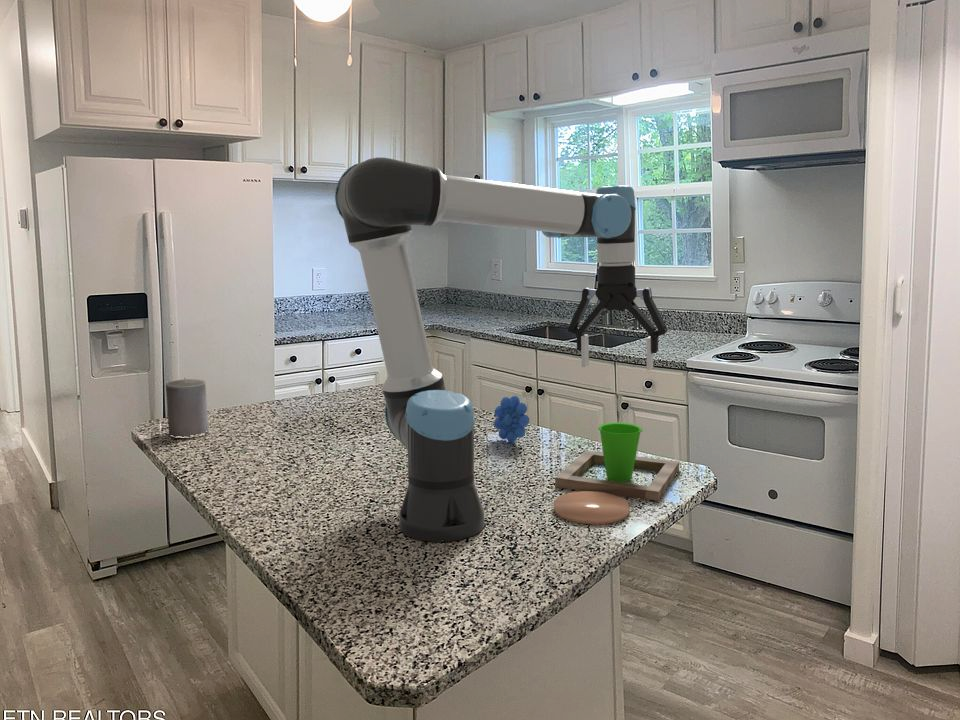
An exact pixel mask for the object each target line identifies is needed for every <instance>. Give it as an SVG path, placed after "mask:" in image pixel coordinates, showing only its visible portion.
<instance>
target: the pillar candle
mask: <svg viewBox="0 0 960 720" xmlns="http://www.w3.org/2000/svg"><path fill="white" fill-rule="evenodd" d="M165 391H166V392H165V393H166V395H165V396H166V405H167V406H166V407H167V424H168V435H169V434H170V435H173V436H190V435H196V434H201V433H204V432H206V431H208V432H209V418H208V416H209V415H208V404H207V403H208V402H207V401H208V400H207V387H206V380H202V379H191V378H190V379H186V377H184V379H177V380H172V381H168V382H167V383H166V384H165Z"/></svg>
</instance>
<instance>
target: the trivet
mask: <svg viewBox="0 0 960 720" xmlns="http://www.w3.org/2000/svg"><path fill="white" fill-rule="evenodd" d="M553 512H554V513H555V514H556V516H558V517H559V518H561V519H564V520H566V521H569V522H573V523H577V524H582V525H607V524H614V523H618V522H620V521H623V520H625V519H626V518H627V517H628V516H629V515H630V503H629V502H628V501H627V500H626V499H625V498H624V497H622V496H616V495H612V494H608V493H603V492H594V491H580V490H579V491H573V492H568V493H564V494H561V495H559V496H557V497H556V498H555V499H554V500H553Z"/></svg>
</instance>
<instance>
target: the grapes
mask: <svg viewBox="0 0 960 720" xmlns="http://www.w3.org/2000/svg"><path fill="white" fill-rule="evenodd" d="M494 409H495V410H494V415H495V417H496V419H495V420H494V422H493V426H494V428H495V429H496V430H499V431H498V437H499V438H500V439H501V440H507V442H509V443H512V444H513V443H516V441H517V440H518V439H522V438H524V436H525V435H526V431H527V430H526V428H527V426H529V424H530V417H529V416H528V415H527V414H526V413H527V411H528V406H527V404H526V403H525V402H521V399H520V397H518V396H517V395H512V396H511V397H510V398H509V397H508V396H505V397H503V398H501V400H500V403H499V405H497V406H496V407H495V408H494ZM525 427H526V428H525Z"/></svg>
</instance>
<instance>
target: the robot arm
mask: <svg viewBox="0 0 960 720" xmlns="http://www.w3.org/2000/svg"><path fill="white" fill-rule="evenodd" d="M595 191H596V192H595V193H590V192H581V191H574V190H568V189H567V190H566V189H559V188H551V187H544V186H543V187H542V186H535V185H527V184H521V183H520V184H519V183H513V182H504V181H503V182H502V181H494V180H486V179H479V178H470V177H465V176H464V177H463V176H456V175H447V174H444V173H443V172H442V171H441V169H440V168H439V167H435V166H427V165H421V164H416V163H411V162H406V161H403V160H398V159H395V158H389V157H373V158H369V159H366V160H364V161H361V162H359V163H355V164H353V165H352V166H350V167H348V168H347V169H346V170H345V171H344V172H343V174H341V176H340V178H339V179H338V182H337V184H336V187H335V194H334V202H335V207H336V210H337V211H338V214H339V215H340V217H341V218H342V219H343V224H344V228H345V232H346V237H347V240H348V243H349V245H350V247H352V248H354V249H355V250H357V251H358V252H359V255H360V259H361V262H362V263H361V264H362V268H363V272H364V276H365V277H364V278H365V282H366V286H367V289H368V294H369V295H368V296H369V299H370V303H371V304H370V305H371V307H372V308H371V309H372V311H373V315H374V316H373V317H374V320H375V321H374V322H375V325H376V329H377V334H378V338H379V342H380V347H381V351H382V355H383V360H384V365H385V369H386V374H387V378H386V379H385V381H384V382H383V384H382V387H381V389H382V392H383V396H384V401H385V406H384V418H385V423H386V426H387V428H388V430H389V432H390V434H392V435H393V437H394V438H395V439H396V440H398V442H400V444H402V446H404V448H405V449H406V450H407V473H408V474H407V476H408V477H407V478H408V479H407V480H408V483H407V488H406V491H405V494H404V499H403V502H402V505H401V509H400V511H399V514H398V515H399V517H398V518H399V523H398V525H399V530H400V532H402V533H403V534H404V535H405V536H407V537H409V538H411V539H414V540H420V541H424V542H432V543H433V542H435V543H436V542H437V543H438V542H439V543H440V542H441V543H442V542H453V541H460V540H465V539H467V538H471V537H473V536H476V535H477V534H479V533H480V532H481V531H482V530H483V529H484V528H485V509H484V508H483V505H482V502H481V499H480V497H479V493H478V490H477V487H476V484H475V423H476V419H475V415H474V407H473V404H472V401H471V400H470V398H469V397H467V396H466V395H464V394H462V393H460V392H453V391H451V390H446V385H445V381H444V376H443V373H442V372H440V371H439V370H437V369H436V368H435V367H434V366H433V363H432V358H431V353H430V349H429V344H428V339H427V335H426V331H425V327H424V326H425V325H424V321H423V315H422V310H421V307H420V306H421V305H420V303H419V297H418V292H417V288H416V283H415V279H414V273H413V270H412V264H411V259H410V255H409V250H408V249H409V248H408V245H407V242H408V239H409V237H410V236H411V235H412V233H413V229H412V226H427V227H428V226H429V227H433V226H434V225H436V224H437V223H438V222H447V223H457V224H458V223H459V224H468V225H476V226H477V225H478V226H487V227H495V228H506V229H507V228H508V229H516V230H524V231H525V230H526V231H535V232H536V231H537V232H541V233H542V234H543V235H544V236H545V237H546V238H558V239H561V238H596V243H597V244H596V254H597V256H596V257H597V258H596V261H597V263H599V264H600V265H598V267H597V271H596V273H597V287H596V289H594V288H591V287H586V288H583V289H582V292H581V299H580V301H579V304H578V306H577V308H576V311H575V313H574V315H573V317H572V319H571V321H570V323H569V325H568V327H567V332H568V333H571V334H574V335H575V336H576V349H577V351H580V352H581V368H586V367H588V366H589V365H590V357H589V356H590V355H589V354H590V351H589V348H590V347H589V345H590V344H589V342H590V341H589V334H586V332H587V330H589V328H590V327H591V326H592V325H593V323H594V322H595V321H596V320H597V318H598V317H599V316H600V315H601V314H602V312H604V310H605V309H606V310H607V311H621V312H622V311H625V310H627V311H628V312H629V313H630V314H631V315H632V316H633V317H634V319H635V320H637V322H638V323H639V324H640V326H641V327H642V328H643V329H644V330H645V332H647V334H648V335H649V336H648V337H646V371H651V370H652V369H654V354H657V353H658V351H659V338H660V337H661V336H664V335H665V334H667V333H668V332H669V329H668V327H667V325H666V323H665V321H664V319H663V316H662V315H661V313H660V311H659V309H658V307H657V305H656V303H655V300H654V299H653V293H652V292H653V291H652V288H651V287H646V288H641V289H637V287H636V266H635V265H634V264H633V263H635V261H636V210H637V209H636V208H637V207H636V199H635V198H636V196H635V190H634V187H632V186H631V185H611V186H610V185H609V186H608V185H607V186H600V187H598V188H597V189H596V190H595ZM594 296H595V297H596V298H597V299H598V301H599V302H598V304H597V305H596V306H595V308H594V309H593V311H591V313H590V314H589V315H588V316H587V318H586V319H585V320H584V321H583V323H582V324H581V325H580V323H581V321H582V318H583V316H584V314H585V313H586V310H587V308H588V306H589V303H590V301H591V300H592V299H593V298H594ZM638 296H639V298H640V299H641V301H642V300H643V302H644V304H645V307H646V309H647V311H648V313H649V315H650V317H651V319H652V321H653V323H654V325H655V326H654V325H653V324H652V322H651V321H650V320H649V319H648V317H647V316H646V315H645V314H644V313H643V312H642V310H641V309H640V308H639V306H638V305H637V303H636V302H635V300H636V298H637V297H638ZM579 325H580V326H579Z"/></svg>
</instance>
